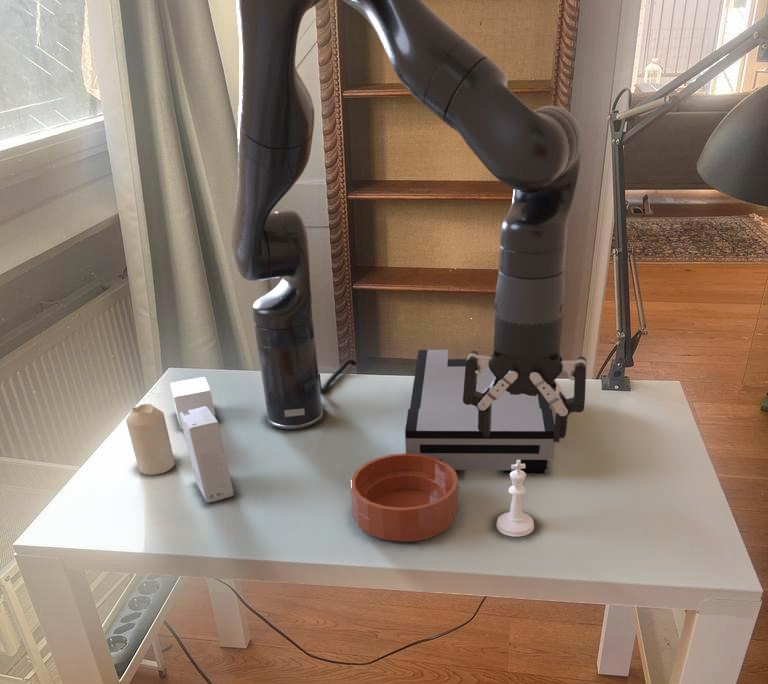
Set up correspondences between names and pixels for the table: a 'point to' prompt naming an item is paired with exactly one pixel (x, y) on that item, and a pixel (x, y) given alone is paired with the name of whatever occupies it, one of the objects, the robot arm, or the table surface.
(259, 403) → the table surface
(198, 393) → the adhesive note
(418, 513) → the bowl
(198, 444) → the cosmetic box
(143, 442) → the candle
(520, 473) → the chess piece
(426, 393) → the game console
